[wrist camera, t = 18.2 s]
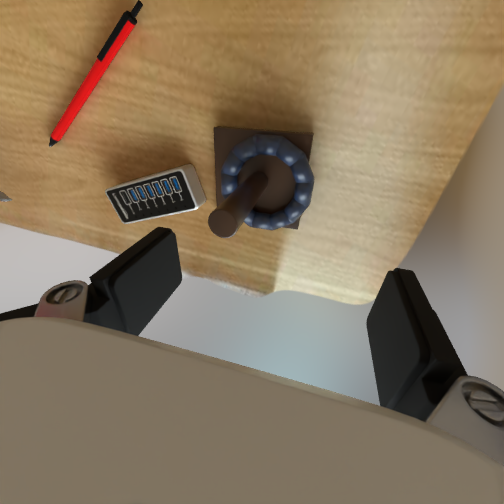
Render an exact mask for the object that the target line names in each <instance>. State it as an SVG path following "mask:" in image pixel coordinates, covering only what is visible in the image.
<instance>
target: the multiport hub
mask: <svg viewBox="0 0 504 504" xmlns="http://www.w3.org/2000/svg"><path fill="white" fill-rule="evenodd" d="M105 193H106V195H107V197H108V198H109V200H110V202H111V204H112V205H113V207H114V209H115V211H116V212H117V214H118V216H119V218H120V219H121V221H122V222H123V223H124V224H129V223H134V222H139V221H143V220H148V219H153V218H158V217H163V216H168V215H173V214H178V213H183V212H187V211H192V210H196V209H198V208H199V207H200V206H201V205H202V204H204V203H205V202H206V197H205V195H204V192H203V189H202V187H201V184H200V181H199V179H198V176H197V173H196V171H195V168H194V166H193V165H192V164H187V165H183V166H180V167H177V168H173V169H170V170H166V171H163V172H159V173H156V174H152V175H149V176H145V177H142V178H138V179H135V180H132V181H128V182H125V183H121V184H118V185H116V186H113V187H111V188H108V189H106V190H105Z"/></svg>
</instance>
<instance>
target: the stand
mask: <svg viewBox="0 0 504 504" xmlns="http://www.w3.org/2000/svg"><path fill="white" fill-rule="evenodd" d="M255 134H264V135H278V136H283V137H285V138H286V139H288V140H289V141H290V142H291V143H293V144H294V145H295V146H297V147H298V148H299V149H301V150H302V151H303V152H304V153H305V155H306V157H307V160H308V162H309V159H310V153H311V147H312V141H313V135H314V133H305V132H291V131H277V130H263V129H249V128H235V127H222V126H217V127H214V150H215V174H216V198H217V208H216V209H215V210H214V211H213V212H212V213H211V214H210V216H209V219H208V224H209V227H210V229H211V231H212V232H213V233H214V234H215V235H217V236H219V237H222V238H229V237H232V236H233V235H235V233H236V232H237V231H238V229H239V228H240V226H241V225H242V223H243V222H244V220H245V219H246V217H247V216H248V215H249V213H250V212H251V210H252V209H253V210H254V211H256V212H259V213H267V214H273V213H275V212H278V211H281V210H283V209H285V208H286V207H287V205H288V204H289V203H290V202H291V200H292V199H293V198H294V192H295V185H296V181H295V179H294V176H293V174H292V171H291V169H290V166H288V165H287V164H286V163H284V162H283V161H282V160H280V159H279V158H278V157H276V156H272V155H261V154H259V155H257V156H255V157H253V158H251V159H249V160H247V161H245V163H244V164H243V166H242V168H241V169H240V171H239V173H238V175H237V189H235V190H234V191H233V192H232V193H231V194H230V195H229V196H228V197H227V198H226V199H225V200H224V198H223V196H222V193H221V168H222V166H223V164H224V162H225V160H226V158H227V156H228V154H229V153H230V151H231V149H232V148H233V147H234V146H235V145H237V144H239V143H240V142H242V141H244V140H246V139H247V138H249V137H251V136H253V135H255ZM299 220H300V217H299V218H298V219H297V220H296V221H295V222H294V223H292V224H289V225H286V226H284V228H291V229H298V226H299Z"/></svg>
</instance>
